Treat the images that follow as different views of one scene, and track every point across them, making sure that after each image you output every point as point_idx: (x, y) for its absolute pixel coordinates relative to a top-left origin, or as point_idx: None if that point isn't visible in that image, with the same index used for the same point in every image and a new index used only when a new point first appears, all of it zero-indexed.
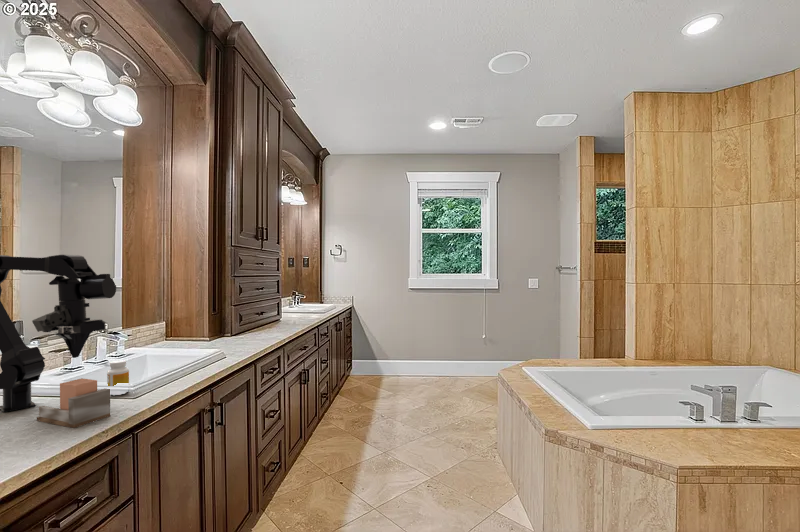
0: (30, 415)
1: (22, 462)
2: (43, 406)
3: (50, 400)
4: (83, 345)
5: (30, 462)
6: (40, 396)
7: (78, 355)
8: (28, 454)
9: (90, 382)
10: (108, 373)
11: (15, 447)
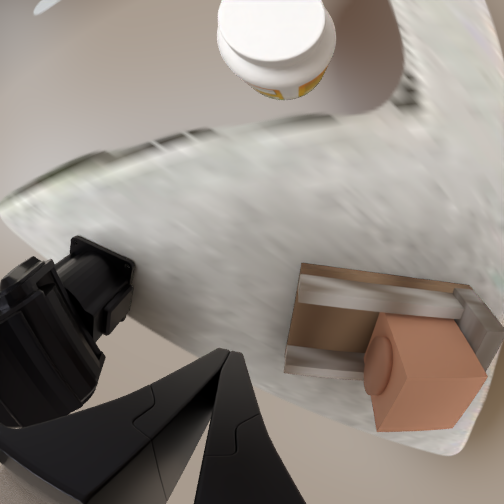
0: (215, 324)
1: (445, 444)
2: (293, 368)
3: (107, 202)
4: (258, 411)
5: (456, 440)
6: (43, 182)
7: (244, 362)
8: (435, 435)
9: (475, 393)
10: (264, 87)
11: (392, 432)
